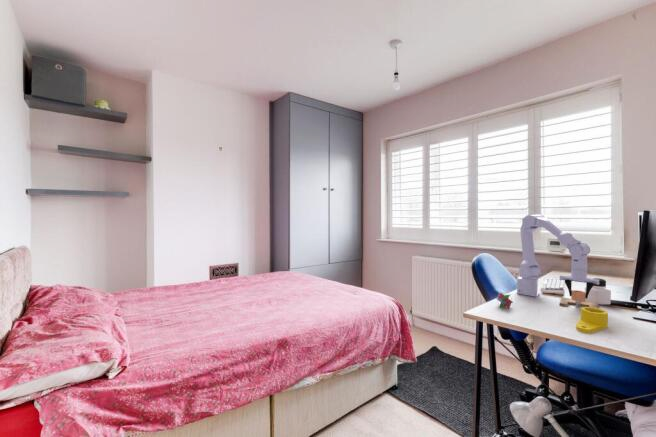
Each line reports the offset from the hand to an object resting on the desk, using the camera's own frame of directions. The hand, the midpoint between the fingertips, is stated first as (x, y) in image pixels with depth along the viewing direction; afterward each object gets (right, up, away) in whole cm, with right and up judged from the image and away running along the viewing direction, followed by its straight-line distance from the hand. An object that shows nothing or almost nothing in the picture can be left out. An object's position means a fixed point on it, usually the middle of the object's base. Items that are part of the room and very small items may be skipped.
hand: (578, 296), depth 145 cm
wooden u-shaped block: (+2, -5, +3) cm, 6 cm away
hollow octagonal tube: (0, -2, 0) cm, 2 cm away
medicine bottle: (+15, -5, +7) cm, 18 cm away
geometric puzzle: (-35, -6, +1) cm, 35 cm away
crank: (-15, -7, -23) cm, 28 cm away
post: (0, -5, 0) cm, 5 cm away
